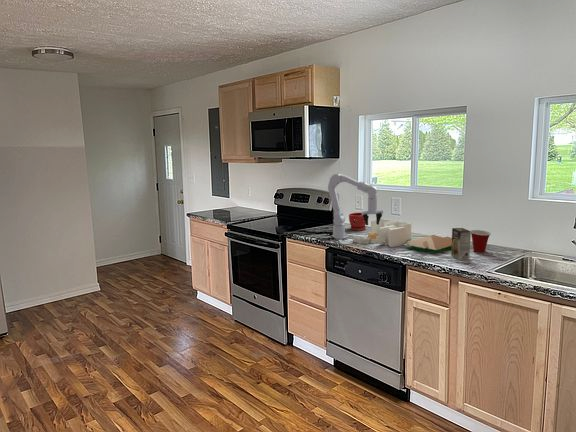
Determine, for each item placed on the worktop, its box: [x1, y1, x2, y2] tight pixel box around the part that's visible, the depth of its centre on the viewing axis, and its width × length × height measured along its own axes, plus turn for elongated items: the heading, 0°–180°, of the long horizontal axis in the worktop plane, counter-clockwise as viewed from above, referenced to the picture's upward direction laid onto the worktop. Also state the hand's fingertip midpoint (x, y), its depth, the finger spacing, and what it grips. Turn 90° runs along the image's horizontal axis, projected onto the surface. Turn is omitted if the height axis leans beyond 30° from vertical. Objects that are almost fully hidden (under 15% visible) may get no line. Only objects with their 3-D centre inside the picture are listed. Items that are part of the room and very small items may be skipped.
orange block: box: [367, 232, 378, 239], centre depth 278 cm, size 6×4×5 cm, turn 13°
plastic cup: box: [470, 229, 491, 254], centre depth 242 cm, size 11×11×12 cm
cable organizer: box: [377, 225, 407, 248], centre depth 264 cm, size 15×11×12 cm
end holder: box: [363, 235, 378, 244], centre depth 276 cm, size 9×9×2 cm
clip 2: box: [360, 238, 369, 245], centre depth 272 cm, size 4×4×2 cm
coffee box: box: [450, 227, 472, 261], centre depth 231 cm, size 9×6×16 cm
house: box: [403, 234, 452, 255], centre depth 257 cm, size 23×33×8 cm
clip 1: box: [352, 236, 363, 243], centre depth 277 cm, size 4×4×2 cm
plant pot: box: [348, 212, 367, 231], centre depth 315 cm, size 13×13×12 cm
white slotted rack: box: [370, 218, 412, 241], centre depth 286 cm, size 25×11×11 cm, turn 39°
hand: (372, 224), depth 281 cm, fingers open, 7 cm apart
